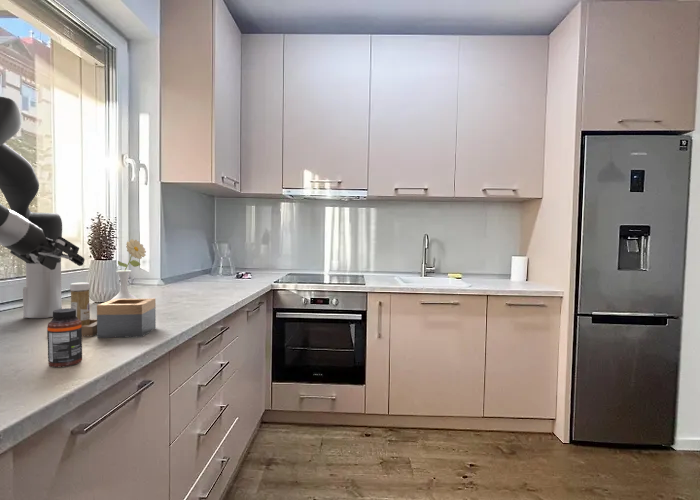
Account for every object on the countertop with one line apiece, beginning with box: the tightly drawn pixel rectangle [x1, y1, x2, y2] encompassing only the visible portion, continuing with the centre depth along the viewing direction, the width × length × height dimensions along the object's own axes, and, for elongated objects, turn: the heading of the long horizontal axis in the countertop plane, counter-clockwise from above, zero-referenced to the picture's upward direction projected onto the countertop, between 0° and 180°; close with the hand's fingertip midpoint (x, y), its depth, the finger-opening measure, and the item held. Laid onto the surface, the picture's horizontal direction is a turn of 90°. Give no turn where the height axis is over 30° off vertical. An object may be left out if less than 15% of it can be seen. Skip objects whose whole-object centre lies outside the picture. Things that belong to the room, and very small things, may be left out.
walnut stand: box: [46, 318, 97, 338], centre depth 117 cm, size 11×11×2 cm
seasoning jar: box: [69, 281, 91, 325], centre depth 117 cm, size 5×5×14 cm
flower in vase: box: [110, 238, 147, 300], centre depth 151 cm, size 13×11×25 cm
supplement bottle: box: [46, 307, 83, 368], centre depth 89 cm, size 6×6×11 cm
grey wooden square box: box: [96, 297, 157, 339], centre depth 117 cm, size 11×11×8 cm
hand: (68, 264), depth 111 cm, fingers open, 8 cm apart
